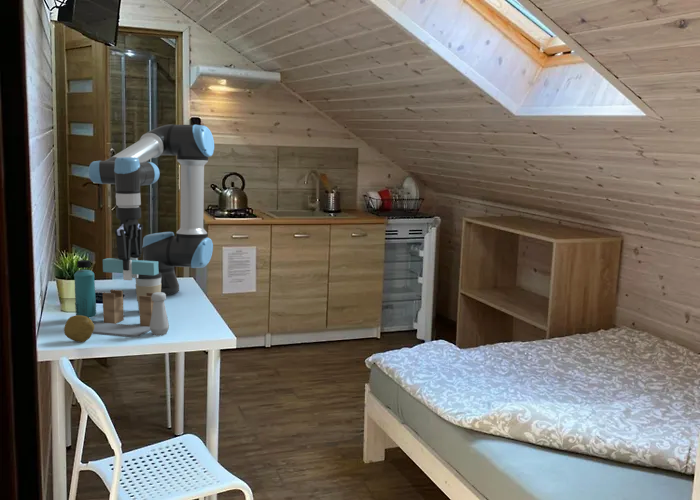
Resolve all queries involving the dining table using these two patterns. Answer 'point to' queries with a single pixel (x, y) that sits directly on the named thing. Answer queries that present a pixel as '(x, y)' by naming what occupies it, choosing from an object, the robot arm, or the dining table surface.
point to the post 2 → (146, 309)
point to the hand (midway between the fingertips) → (131, 278)
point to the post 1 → (113, 307)
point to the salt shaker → (159, 315)
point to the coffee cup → (147, 285)
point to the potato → (79, 328)
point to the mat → (120, 329)
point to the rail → (137, 266)
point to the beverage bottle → (85, 290)
